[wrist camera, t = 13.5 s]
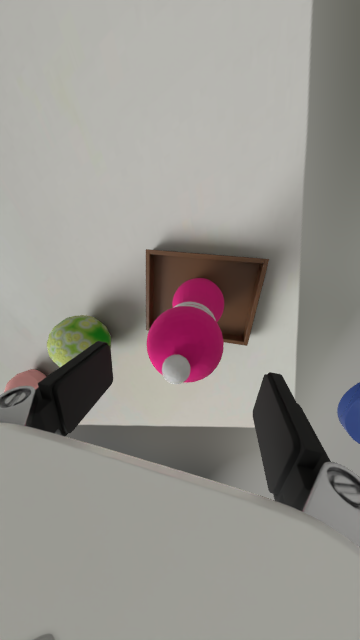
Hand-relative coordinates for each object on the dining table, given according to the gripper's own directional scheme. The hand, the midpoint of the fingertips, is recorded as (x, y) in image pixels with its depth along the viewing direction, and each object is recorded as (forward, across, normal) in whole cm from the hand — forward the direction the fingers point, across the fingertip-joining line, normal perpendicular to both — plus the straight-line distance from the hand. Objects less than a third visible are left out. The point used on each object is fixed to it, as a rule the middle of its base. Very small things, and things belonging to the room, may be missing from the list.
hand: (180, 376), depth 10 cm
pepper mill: (+20, +1, 0) cm, 20 cm away
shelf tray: (+20, +1, 0) cm, 20 cm away
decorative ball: (+20, +21, +10) cm, 31 cm away
